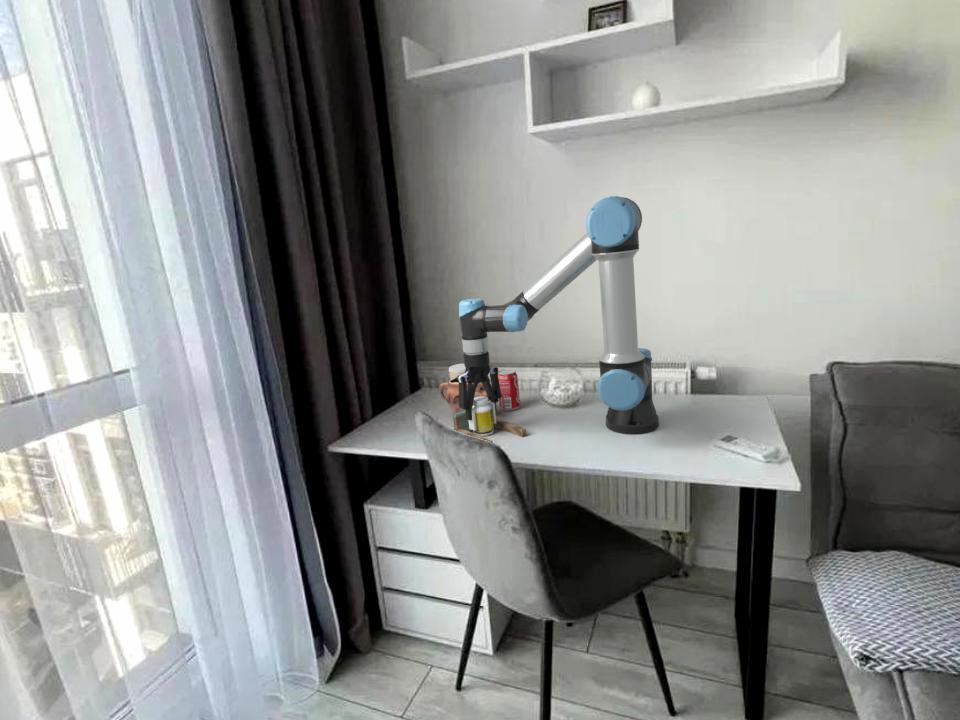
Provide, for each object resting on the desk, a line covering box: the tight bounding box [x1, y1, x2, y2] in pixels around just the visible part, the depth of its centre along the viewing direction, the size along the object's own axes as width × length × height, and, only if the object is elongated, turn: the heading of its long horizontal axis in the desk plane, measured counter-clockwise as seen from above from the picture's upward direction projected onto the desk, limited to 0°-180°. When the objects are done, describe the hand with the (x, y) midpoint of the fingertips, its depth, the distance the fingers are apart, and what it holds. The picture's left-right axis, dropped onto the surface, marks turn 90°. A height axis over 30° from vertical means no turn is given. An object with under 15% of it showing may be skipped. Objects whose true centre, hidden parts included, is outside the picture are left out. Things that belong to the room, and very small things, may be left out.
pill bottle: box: [472, 396, 495, 437], centre depth 167 cm, size 6×6×11 cm
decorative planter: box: [438, 377, 490, 415], centre depth 180 cm, size 20×12×14 cm, turn 63°
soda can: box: [498, 368, 521, 412], centre depth 187 cm, size 7×7×13 cm
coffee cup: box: [448, 363, 466, 381], centre depth 204 cm, size 9×9×12 cm
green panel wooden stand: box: [452, 410, 527, 443], centre depth 164 cm, size 17×14×7 cm
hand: (482, 425), depth 167 cm, fingers open, 7 cm apart
